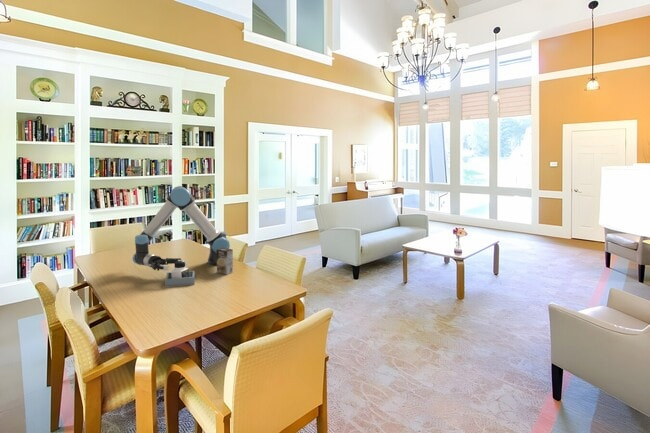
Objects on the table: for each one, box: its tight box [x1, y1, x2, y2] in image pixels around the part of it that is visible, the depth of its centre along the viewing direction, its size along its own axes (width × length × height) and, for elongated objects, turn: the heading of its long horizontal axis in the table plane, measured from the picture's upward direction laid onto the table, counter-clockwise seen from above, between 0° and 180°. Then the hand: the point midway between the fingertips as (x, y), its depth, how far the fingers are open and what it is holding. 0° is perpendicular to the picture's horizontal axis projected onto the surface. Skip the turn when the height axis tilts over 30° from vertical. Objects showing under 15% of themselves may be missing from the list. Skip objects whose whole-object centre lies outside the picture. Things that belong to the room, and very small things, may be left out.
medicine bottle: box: [171, 260, 190, 278], centre depth 219 cm, size 7×7×12 cm
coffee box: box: [216, 248, 234, 275], centre depth 240 cm, size 9×6×16 cm
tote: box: [164, 270, 196, 288], centre depth 220 cm, size 16×14×4 cm
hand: (177, 265), depth 219 cm, fingers open, 13 cm apart
